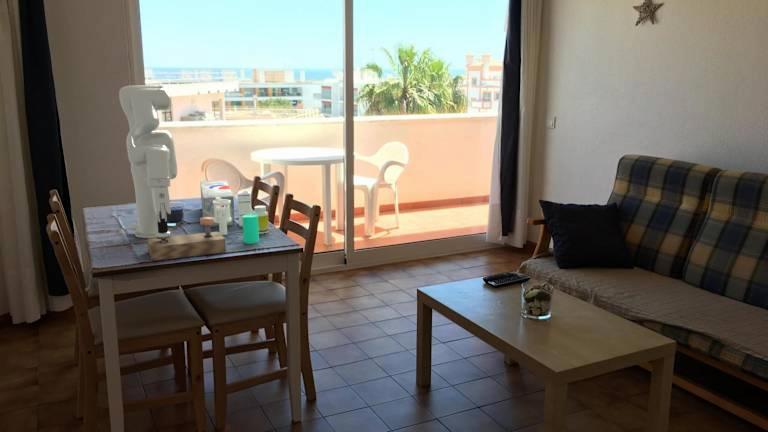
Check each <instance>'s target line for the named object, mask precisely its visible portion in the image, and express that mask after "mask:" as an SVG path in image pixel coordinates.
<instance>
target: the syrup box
mask: <svg viewBox="0 0 768 432" xmlns="http://www.w3.org/2000/svg"><path fill="white" fill-rule="evenodd" d="M251 193H252V192H251V190H241V191H237V192H236V196H237V210H238V211H237V215H238V225H239V227H243V218H242V217H243V216H244V215H247V214H252V215H253V207H252V197H251V196H252V195H251Z"/></svg>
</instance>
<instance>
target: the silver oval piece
mask: <svg viewBox="0 0 768 432" xmlns="http://www.w3.org/2000/svg"><path fill="white" fill-rule="evenodd" d="M170 237H171V230H168V232H165V233H159V232H158V231H157V232H156V238H157V239H161V243H163V242H166V239H168V238H170Z"/></svg>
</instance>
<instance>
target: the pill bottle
mask: <svg viewBox="0 0 768 432" xmlns="http://www.w3.org/2000/svg"><path fill="white" fill-rule="evenodd" d="M253 208H254V209H253V210H254V211H253V212H252V215H257V216H258V227H259V235H264V233H265V234H268V233H269V232H270V230H269V229H270V228H269V212H268V211H267V206H266V205H255V206H254V207H253Z"/></svg>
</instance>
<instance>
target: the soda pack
mask: <svg viewBox="0 0 768 432" xmlns="http://www.w3.org/2000/svg"><path fill="white" fill-rule="evenodd" d="M216 197H219V198H222V199H227V200H231V204H230V217H231V218H232V221H231V222H227V227H232V226H235V204H234V203H235V201H234V195H233V192H232V190H231V188H230V185H229V182H228V181H227V179H220V180H219V179H218V180H201V181H200V200H201V211H202V218H203V217H214V218H215V216H214V205H213V201H214V200H215V198H216ZM219 203H223V202H219ZM224 206H226V207H227V205H222V207H224ZM216 227H217V228H219V223H215V222H214V224H212V225H210V228H216Z"/></svg>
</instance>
